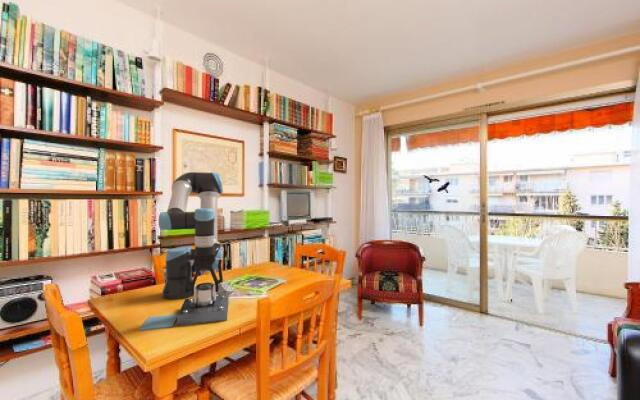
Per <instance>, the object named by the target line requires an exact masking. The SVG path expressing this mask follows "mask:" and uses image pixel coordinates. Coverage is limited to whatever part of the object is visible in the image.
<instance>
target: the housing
mask: <svg viewBox="0 0 640 400" xmlns="http://www.w3.org/2000/svg"><path fill="white" fill-rule="evenodd" d="M229 302H230V301H229V296H228V295H224V296H219V295H216V300H215V301H213V307H205V308H197V301H196V303H194V297H193V298H185V299H184V301H183V303H182V306H181V307H180V309H179V311H178V313H177V314H178V315H177V319H176V323H177V324H176V326H177V327H178V326H179V327H180V326H189V325H199V324H207V323H216V322H217V323H218V322H224V321H225V322H227V320H228V314H229Z"/></svg>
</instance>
